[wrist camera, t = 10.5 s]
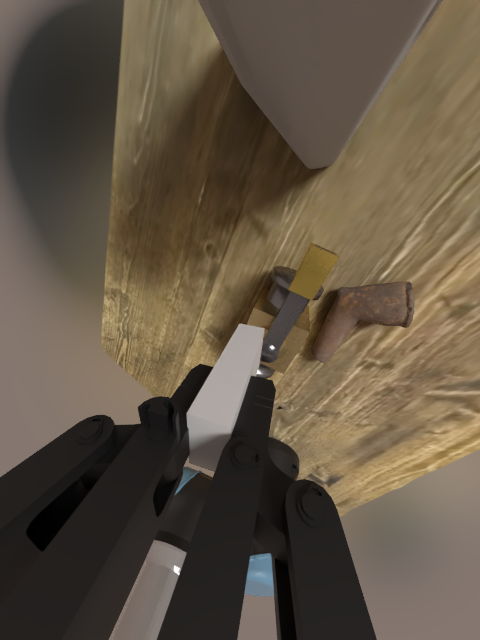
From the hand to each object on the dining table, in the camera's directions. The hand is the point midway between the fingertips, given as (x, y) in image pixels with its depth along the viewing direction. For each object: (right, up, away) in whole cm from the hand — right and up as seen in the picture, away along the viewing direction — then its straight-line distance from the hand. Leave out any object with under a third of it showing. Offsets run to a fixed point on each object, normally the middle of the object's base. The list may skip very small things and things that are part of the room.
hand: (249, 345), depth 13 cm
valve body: (+6, +2, +25) cm, 26 cm away
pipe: (+18, +2, +22) cm, 29 cm away
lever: (+5, +3, +13) cm, 14 cm away
